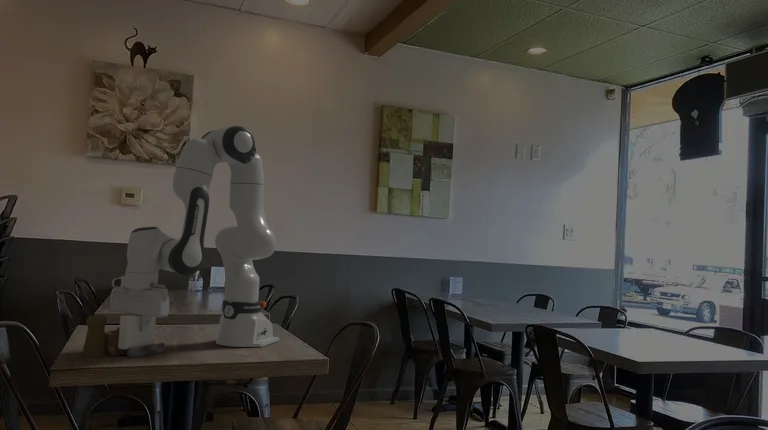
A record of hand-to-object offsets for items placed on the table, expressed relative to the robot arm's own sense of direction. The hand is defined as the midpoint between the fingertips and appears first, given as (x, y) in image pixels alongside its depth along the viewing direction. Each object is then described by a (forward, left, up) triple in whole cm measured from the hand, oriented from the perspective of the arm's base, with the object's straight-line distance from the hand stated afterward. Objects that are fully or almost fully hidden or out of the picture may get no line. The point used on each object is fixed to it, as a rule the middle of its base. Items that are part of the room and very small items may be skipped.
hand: (137, 330), depth 166 cm
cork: (+8, -7, -7) cm, 13 cm away
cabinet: (-1, -4, -7) cm, 8 cm away
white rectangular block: (0, 0, -5) cm, 5 cm away
